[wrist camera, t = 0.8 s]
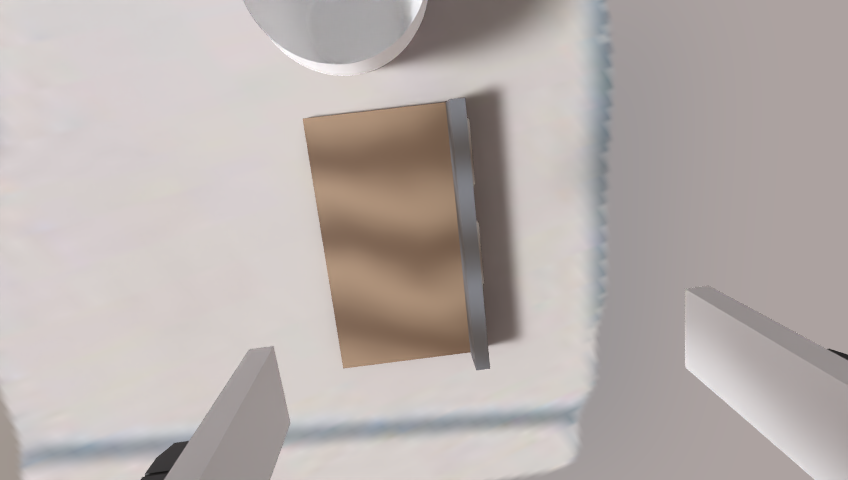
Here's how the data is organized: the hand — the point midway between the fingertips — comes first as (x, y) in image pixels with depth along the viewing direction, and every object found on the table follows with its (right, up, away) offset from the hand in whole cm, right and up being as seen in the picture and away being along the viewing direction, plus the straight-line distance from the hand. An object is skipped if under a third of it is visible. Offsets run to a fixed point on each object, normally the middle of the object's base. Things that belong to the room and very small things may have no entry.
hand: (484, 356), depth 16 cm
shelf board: (-4, +4, +21) cm, 22 cm away
